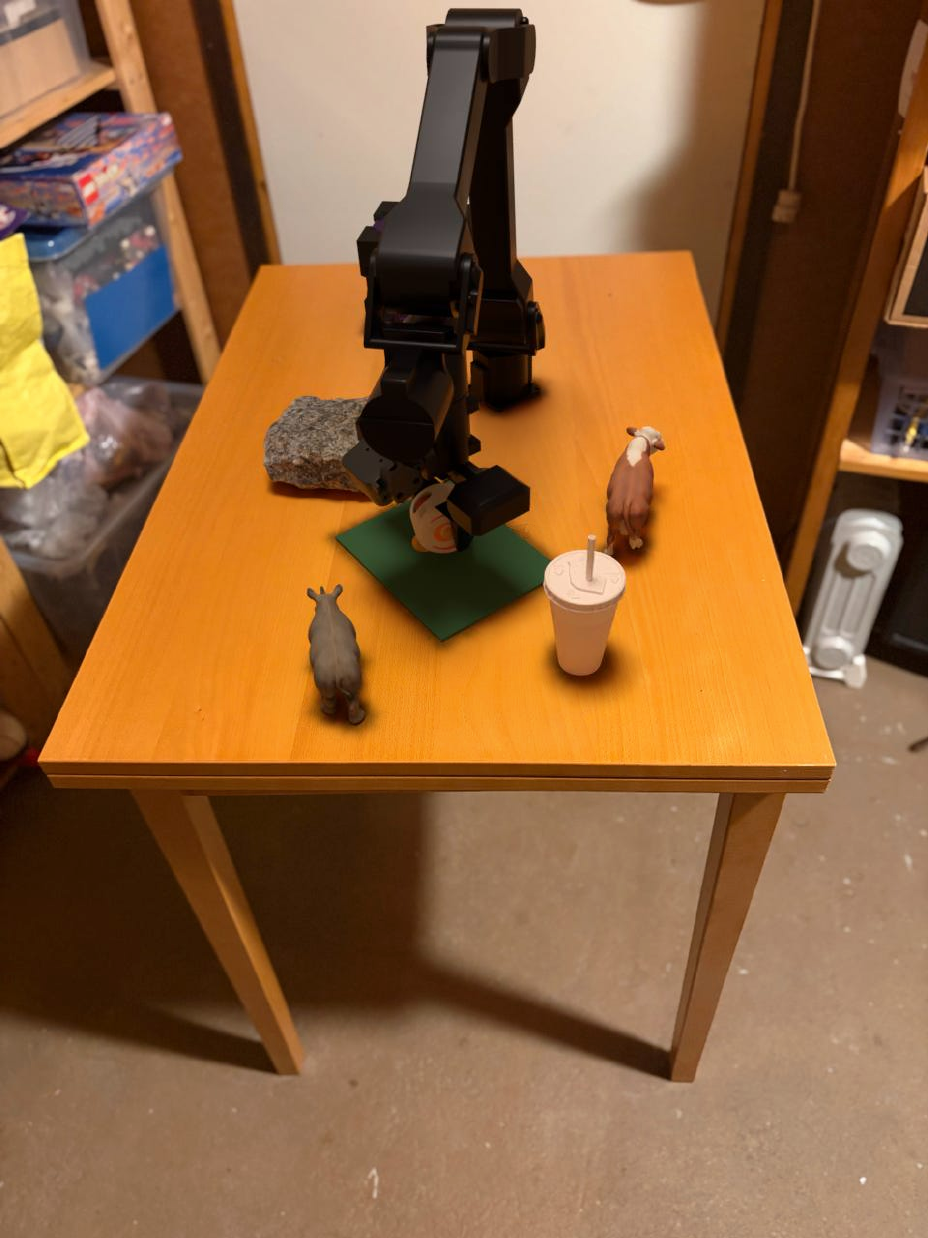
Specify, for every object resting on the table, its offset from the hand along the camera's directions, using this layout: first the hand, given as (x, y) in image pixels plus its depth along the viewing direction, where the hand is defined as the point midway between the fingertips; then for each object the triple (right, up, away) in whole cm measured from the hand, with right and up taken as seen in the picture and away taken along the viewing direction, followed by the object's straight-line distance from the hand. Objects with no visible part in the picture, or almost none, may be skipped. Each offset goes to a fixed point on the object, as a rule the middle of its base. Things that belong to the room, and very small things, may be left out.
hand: (444, 534), depth 87 cm
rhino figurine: (-9, -12, -7) cm, 17 cm away
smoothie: (+12, -12, -8) cm, 18 cm away
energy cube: (-3, +32, +36) cm, 48 cm away
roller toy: (0, -1, +1) cm, 1 cm away
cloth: (0, -2, +2) cm, 3 cm away
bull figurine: (+18, +1, +4) cm, 18 cm away
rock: (-11, +8, +13) cm, 19 cm away
